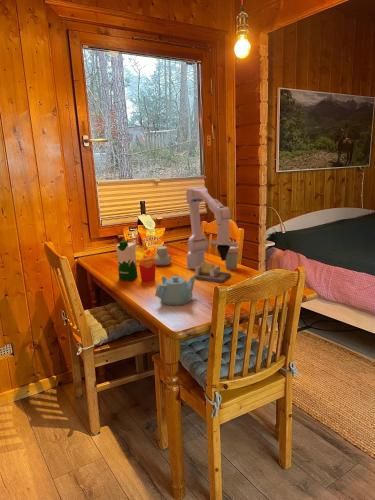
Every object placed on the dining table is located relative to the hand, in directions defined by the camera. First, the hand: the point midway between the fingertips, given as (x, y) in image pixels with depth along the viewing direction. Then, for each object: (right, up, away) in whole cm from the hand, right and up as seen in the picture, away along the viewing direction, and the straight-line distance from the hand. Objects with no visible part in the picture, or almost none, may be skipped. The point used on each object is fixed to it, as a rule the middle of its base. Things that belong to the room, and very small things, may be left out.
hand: (223, 260), depth 178 cm
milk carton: (-48, -10, +10) cm, 50 cm away
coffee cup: (+6, -5, +20) cm, 22 cm away
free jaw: (-4, -8, +6) cm, 10 cm away
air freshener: (-32, -4, +33) cm, 46 cm away
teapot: (-22, -17, -20) cm, 35 cm away
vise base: (-5, -9, +7) cm, 12 cm away
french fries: (-37, -11, +5) cm, 39 cm away
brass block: (-7, -8, +8) cm, 13 cm away
